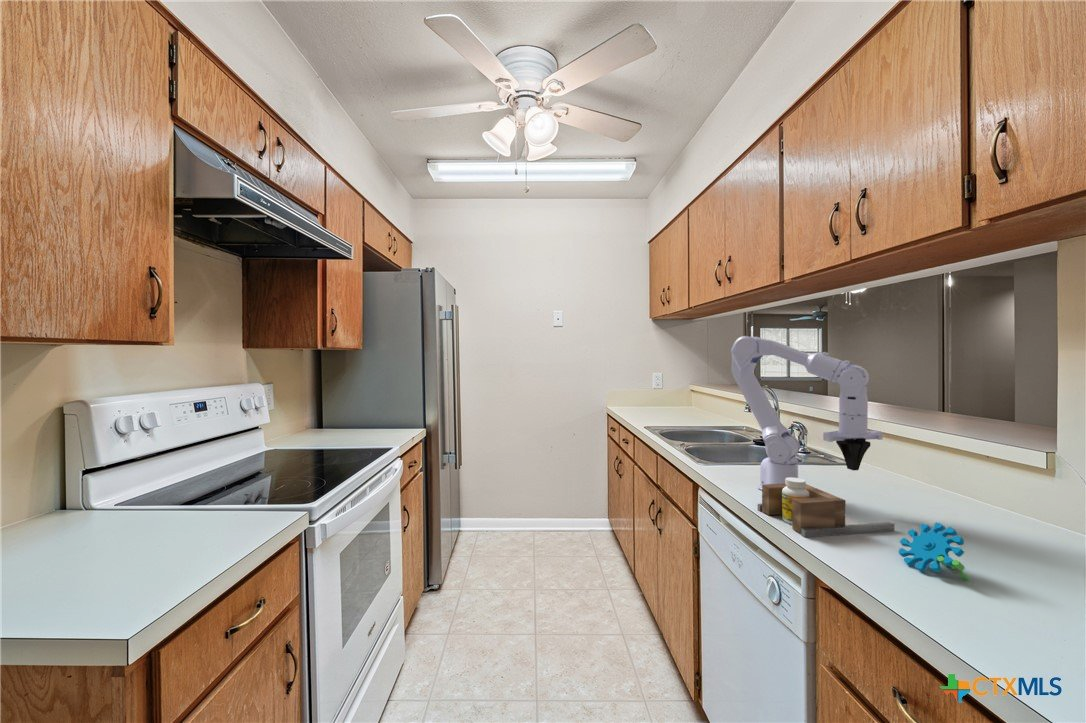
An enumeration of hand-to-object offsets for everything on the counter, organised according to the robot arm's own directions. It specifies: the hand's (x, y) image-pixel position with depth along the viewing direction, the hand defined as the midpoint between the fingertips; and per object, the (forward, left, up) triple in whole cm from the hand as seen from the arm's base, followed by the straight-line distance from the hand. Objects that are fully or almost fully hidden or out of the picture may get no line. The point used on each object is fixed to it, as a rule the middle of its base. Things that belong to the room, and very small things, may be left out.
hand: (852, 469), depth 108 cm
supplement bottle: (+6, -20, -10) cm, 23 cm away
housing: (+6, -19, -9) cm, 22 cm away
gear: (+29, -11, -10) cm, 33 cm away
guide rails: (+6, -14, -9) cm, 18 cm away
